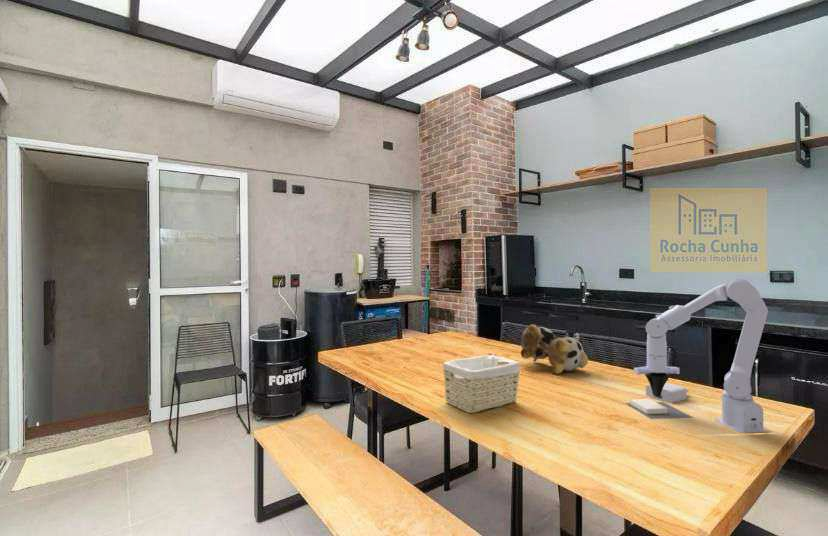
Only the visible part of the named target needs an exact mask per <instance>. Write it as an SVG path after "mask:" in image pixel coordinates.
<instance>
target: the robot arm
mask: <svg viewBox="0 0 828 536" xmlns="http://www.w3.org/2000/svg"><path fill="white" fill-rule="evenodd" d="M728 298H729V299H731V300H732V301H734V302H735V303H737V304H739V305H740V307H741V309H743V310H744V312H746V315H745V318H744V322H743V325H742V328H741V332H740V335H739V339H738V343H737V345H736V346H737V347H736V350H735V354H734V358H733V362H732V364H731V367H730V370H728V372H727V373H726V374H725V375H724V378H723V380H724V382H723V389H724V390H723V391H722V394H721V418H714V421H716V422H718V423H720V424H722V425H725V426H726V427H729V428H731V429H732V430H734V431H737V432H738V433H761V432H767V429H764V409H763V407H762V405H760V404H759V403H758V402H755V400H754V398H753V397H754V396H753V394H751V393H752V386H751V377H752V373H753V372H752V370H753V366H754V363H755V359H756V356H757V352H758V348H759V346H760V345H759V344H760V341H761V338H762V333H763V331H764V328H765V324H766V322H767V321H766V320H767V316H768V314H769V309H768V307H767V305H766V303H765V301H764V300H763V298H762V296H761V294H760V292H759V290H758V289H757V288H756V287H755V286H754V285H753V284H751V282H749V281H748V280H746V279H744V278H735V279H731V280H730V281H729V282H727V283H723V284H720V285H718V286H716V287H712V288H711V289H710V290H708V291H706V292H705V293H703V294H701V295H699V296H698V297H697V298H695V299H693V300H691V301H690V302H688V303H686V304H685V305H680V304H676V305H671V306H669V307H668V309H667V310H666V311H664V312H662V313H660V314H658V313H657V314H656V315H655V317H654V318H652V319H650V320H649V321H648V322H647V323H646V324H645V332H646V334H647V335H646V338H647V339H646V365H645V366H644V365H643V366H638V367H637V366H636V367H633V373H634V374H635V375H636V376H640V375H644V376H645V377H646V379H647V381H648V383H649V385H650V386H651V389H652V393H653V395H655V396H661V393H662V389H663V387H664V385H665V383H668V380H669V378H670V377H669V376H670V375H668V374H676V375H679V374H680V367H677V366H668V365H667V364H668V360H667V359H668V357H667V356H668V353H667V351H668V349H667V347H668V346H667V345H668V343H667V342H668V341H667V332H668V331H672V330H674V329H676V328H678V327H680V326H681V325H683V324H685V323H686V322H689V321H690V320H691V315H692V314H693V313H696V312H698V311H699V310H701V309H703V308H705V307H707V306H708V305H711V304H713V303H714V302H717V301H718V302H719V301H720V302H721V301H724V302H725V301H728Z"/></svg>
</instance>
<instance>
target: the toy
mask: <svg viewBox="0 0 828 536" xmlns="http://www.w3.org/2000/svg"><path fill="white" fill-rule="evenodd" d="M579 340H580V335H579V333H578V332H577V333H575V334H574V337H572V336H571V337H570V336H560V337H557V338H556V337H555V335H554V333H553V331H551V329H549V328H547V327H544V326H540V325H537V324H530V325H528V327H526V328H525V329H524V331H523V332H522V334H521V337H520V346H521V348H522V349H521V350H520V355H521V358H523V359H526V360H528V359H531V358H532V359H533V362H534V363H536V362H537V360H544V359H546V358H547V359H548V362H549V363H550V364H551V369H550V370H551V372H552V374H555V375H560V374H561V373H563V372H565V371H569V372H572V371H574V370H576V369H579V368H580V369H583V368H585V367H586V365H587V364H588V363H589V357H588V355H587V354H586V352H585V351H584V349H583V345H582V343H581V342H580V341H579ZM533 362H532V363H533ZM559 373H560V374H559Z"/></svg>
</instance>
